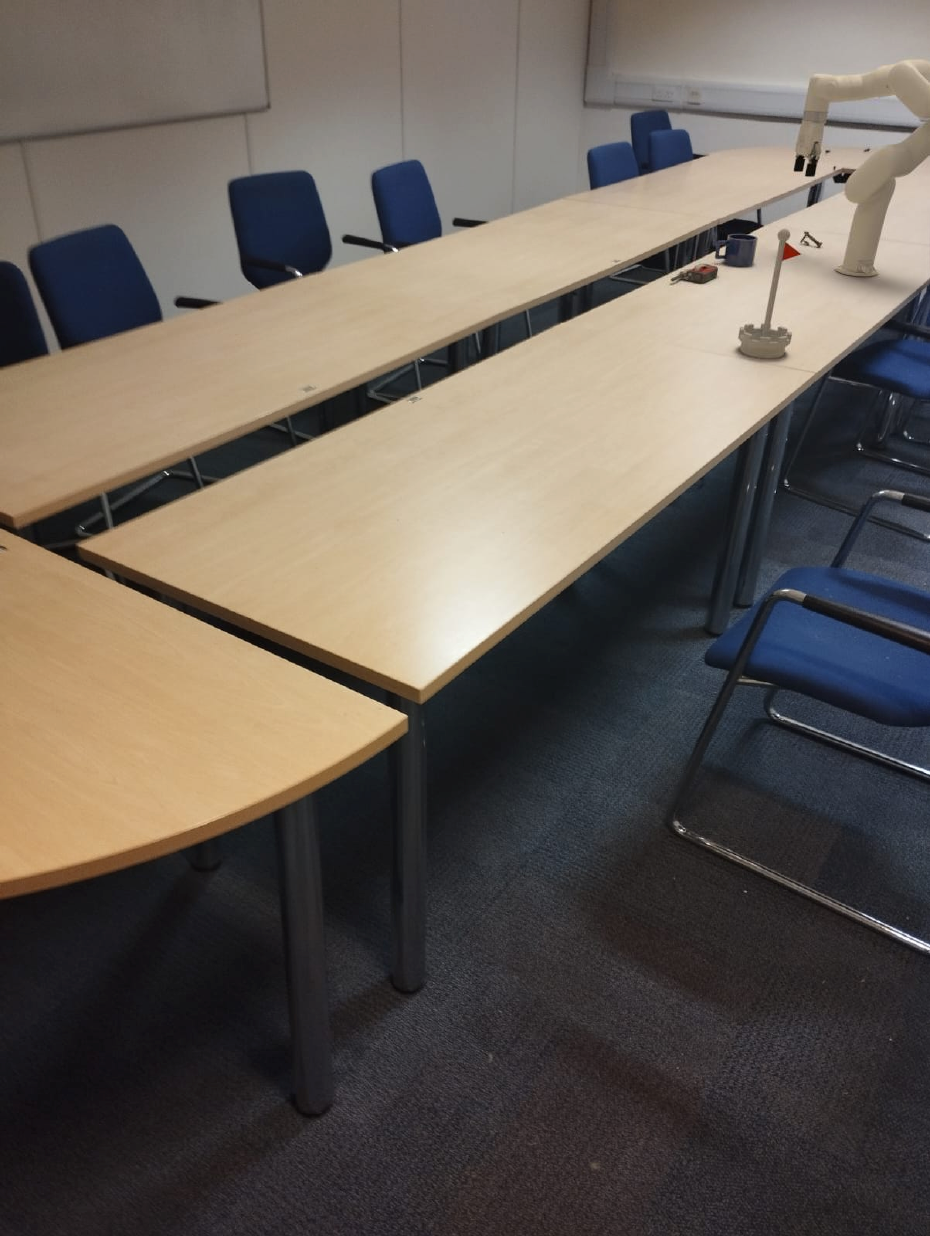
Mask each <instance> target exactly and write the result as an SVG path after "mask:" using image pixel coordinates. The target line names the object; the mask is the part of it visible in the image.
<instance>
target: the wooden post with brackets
mask: <svg viewBox="0 0 930 1236" xmlns="http://www.w3.org/2000/svg"><path fill="white" fill-rule="evenodd" d="M803 234H804V235H803V237H802V238H801V239H800V241H799V242H800V243H801V244H802V243H803V244H804V245H806V246H810V242H808V240H806V239H809V240H810V241H811V242H813V243H814V244H815V245H816V247H817V248H821V246H822V245H823V242H822V241H821V242H820V241H818V240H817V239H816V238H815V237H814V236H812V235H811V234H810V231H806V230H804V231H803Z"/></svg>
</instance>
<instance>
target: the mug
mask: <svg viewBox="0 0 930 1236" xmlns="http://www.w3.org/2000/svg"><path fill="white" fill-rule="evenodd" d="M738 239H746V240H738ZM758 240H759V239H758V237H757V236H755V235H752V234H745V233H732V234H728V235H727V238H726V240H717V242H716V247H715V254H714V259H715V260H723V264H725V265H726V266H730V267H735V268H747V267H748V268H749V267H752V266H753V265H754V262H755V258H756V250H757V245H758ZM721 245H725V248H724V249H725V250H724V254H720V250H721Z"/></svg>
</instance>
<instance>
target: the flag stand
mask: <svg viewBox="0 0 930 1236" xmlns="http://www.w3.org/2000/svg"><path fill="white" fill-rule="evenodd" d="M790 238H791V232H790V230H789V229H787V228H782V229H780V230H779V231H778V232H777V239H778V247H777V253H776V258H775V263H774V269H773V274H772V280H771V285H770V290H769V296H768V299H767V300H768V301H767V307H766V312H765V318H764V322H763V323H761V324H760V326H759V327H755V324H754V323H746V324H744V325H743V326H744V327H742V326H740V327H739V330H738V337H737V338H738V340H739V341H740V348H739V350H740V352H741V353H742V354H744V355H746V356H749V357H754V358H759V359H776V358H777V359H778V358H781V357H783V356H784V354H785V351H786V347H789V345H791V342H792V337H793V332H792V331H788V330H789V329H788V328H787V327H784V326H780V325H779V326H778V327H777V329H775V328H774V329H773V328H772V323H771V322H772V317H773V311H774V307H775V301H776V297H777V291H778V286H779V280H780V275H781V269H782V264H783V262H784V261H786V260H789V259H792V258H795V257H798V256H801V255H802V253H801V252H800V251H798V250H797V249H796V248H794V247H793V246H792V245H790V244H789V243H788V242H787V241H789V240H790Z"/></svg>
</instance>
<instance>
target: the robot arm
mask: <svg viewBox="0 0 930 1236" xmlns="http://www.w3.org/2000/svg"><path fill="white" fill-rule="evenodd" d="M892 96H895V97H896V98H897V99H898V100H899V102H901V104H903V105H904V106H905V107H906V108H907V109H908V110H909V112H911V114H913V116H915V117H917V118H919V119H924V120H926V121H925V122H923V123H922V124H921V125H919V126H918V127H917V128H916V129H915V130H913V132H912V133H911V134H909V136H907V137H906V138H905V139H904V140H902V141H901V142H898V143H893V144H887V145H884V146H882V147H880V148H878V149H877V150H876V151H874V152H873V153H872V154H871V155H870V156H869V157H867V159H866V160H864V162H863V163H861V164H860V165H859V166H858V167H857V168H856V169H855V170H854V171H853V172H852V173H851V175H850V176H849V177H848V179H846V181H845V185H844V195H845V198H846V200H848V202H850V203H852V204H856V208H855V210H854V214H853V217H852V221H851V225H850V230H849V233H848V234H849V235H848V238H847V239H848V240H847V244H846V248H845V253H844V256H843V261H842V264H839V265H837V266H836V271H837V272H838V273H840V274H843V275H848V276H853V277H873V276H876V275H877V272H878V270H877V269H876V268H875V267H874V266H875V265H874V264H875V260H876V256H877V252H878V248H879V244H880V240H881V236H882V232H883V227H884V223H885V220H886V216H887V211H888V209H889V206H890V203H891V201H892V198H893V195H894V193H895V190H896V187H897V186H896V185H897V182H896V179H898V178H902V177H903V178H904V177H905V176H909V174H911V173H912V172H913V171H915V170H916V169H917V168H918V167H919V166H920V165H921V164H922V163H923V162H925V160H927V158H928V157H929V156H930V61H928V60H926V59H919V58H917V59H904V60H901V61H898V62H896V63H892V64H885V65H881V66H879V67H878V68H876V70H874V71H868V72H862V73H856V74H839V75H832V74H830V73H814V74H812V75H811V76H810V78H809V82H808V88H807V94H806V98H805V104H804V109H803V114H802V120H801V124H800V127H799V131H798V135H797V139H796V142H795V143H796V144H795V147H794V151H795V153H796V154H795V161H794V165H793V166H794V167H793V172H795V173H802V172H804V169H805V173H804V176H805V177H806V178H807V177H808V178H815V177H816V173H817V172H816V171H817V167H818V163H819V160H820V156H821V153H822V149H821V148H822V144H823V138H824V131H825V130H824V128H825V124H826V123H827V119H828V114H829V109H830V104H831V103H843V102H844V103H845V102H856V101H861V100H867V99H875V98H878V99H879V98H886V97H892ZM806 157H807V161H808V163H806ZM805 163H806V168H805Z"/></svg>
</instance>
